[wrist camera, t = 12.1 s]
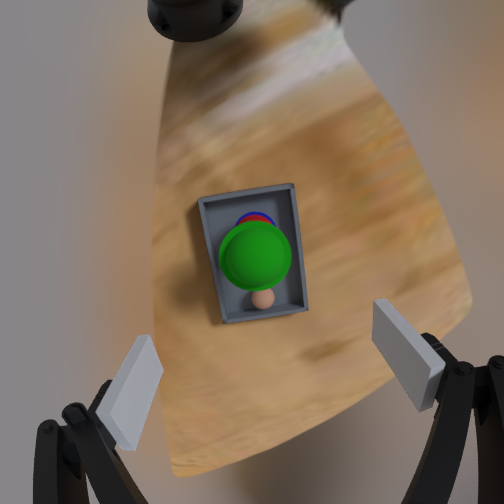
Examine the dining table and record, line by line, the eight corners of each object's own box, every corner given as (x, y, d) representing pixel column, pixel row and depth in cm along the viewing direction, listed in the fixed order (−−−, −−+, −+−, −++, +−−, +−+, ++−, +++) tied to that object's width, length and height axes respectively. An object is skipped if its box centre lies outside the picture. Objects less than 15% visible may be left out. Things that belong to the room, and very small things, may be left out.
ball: (249, 284, 45) (249, 293, 42) (271, 281, 45) (274, 290, 41) (253, 304, 46) (253, 314, 42) (274, 301, 46) (277, 311, 42)
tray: (201, 197, 42) (197, 199, 39) (290, 182, 41) (294, 183, 38) (225, 314, 47) (223, 323, 44) (304, 301, 47) (308, 310, 44)
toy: (223, 256, 44) (212, 299, 29) (229, 204, 41) (220, 222, 27) (275, 262, 44) (288, 307, 30) (283, 211, 42) (302, 233, 27)
